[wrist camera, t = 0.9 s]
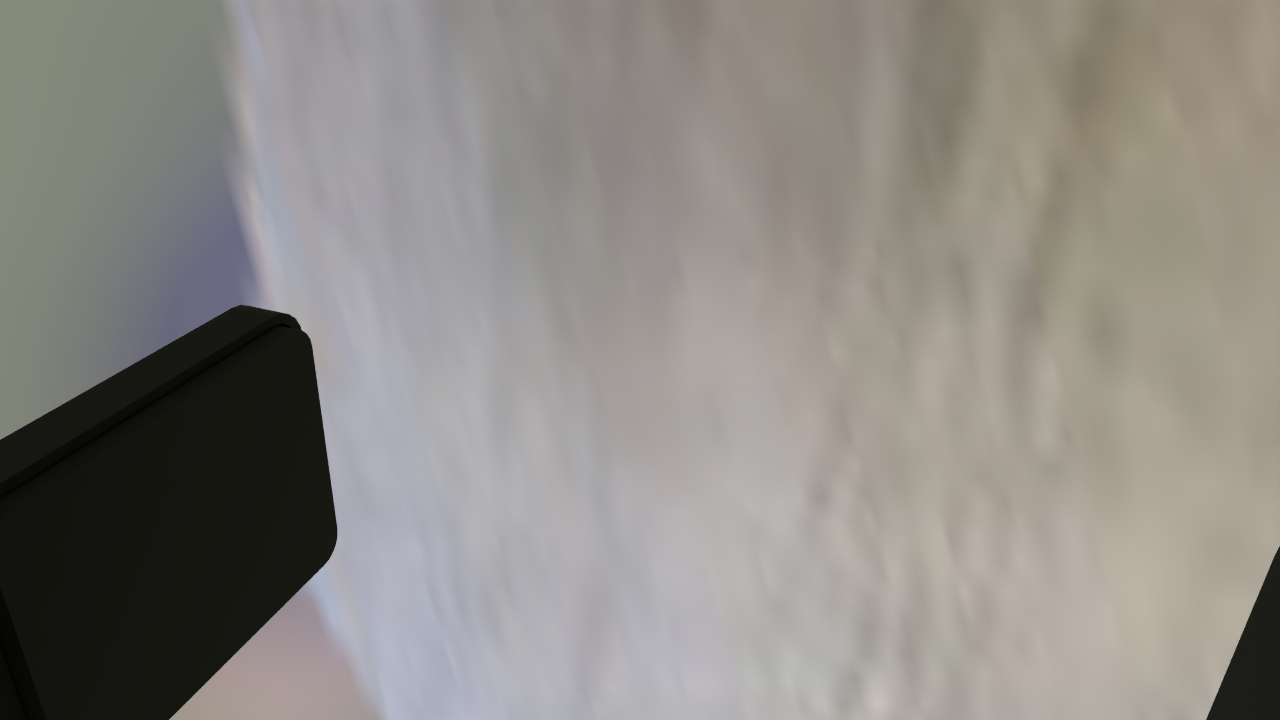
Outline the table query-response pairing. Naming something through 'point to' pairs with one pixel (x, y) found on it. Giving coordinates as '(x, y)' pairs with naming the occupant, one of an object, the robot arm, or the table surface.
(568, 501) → the table surface
